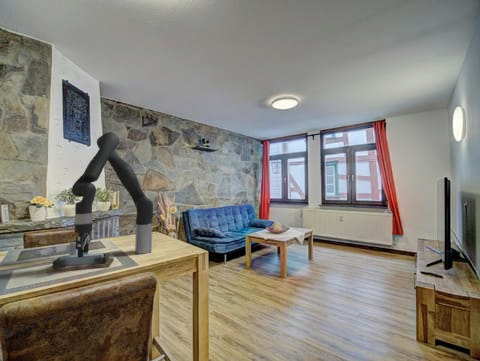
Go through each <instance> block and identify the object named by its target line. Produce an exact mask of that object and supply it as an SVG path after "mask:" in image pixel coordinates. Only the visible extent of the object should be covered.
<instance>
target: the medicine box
mask: <svg viewBox="0 0 480 361" xmlns="http://www.w3.org/2000/svg"><path fill="white" fill-rule="evenodd" d="M79 247H81V245H80V246H79ZM83 254H89V251H88V252H85V253H84V252H83ZM69 255H78V250H77V249H76V241H74V242H71V243H69Z"/></svg>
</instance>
